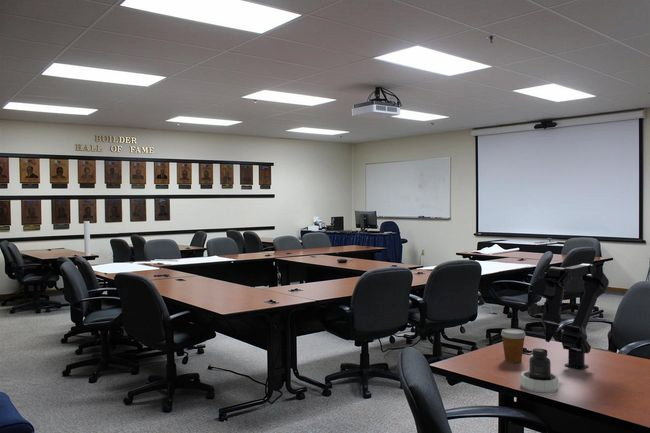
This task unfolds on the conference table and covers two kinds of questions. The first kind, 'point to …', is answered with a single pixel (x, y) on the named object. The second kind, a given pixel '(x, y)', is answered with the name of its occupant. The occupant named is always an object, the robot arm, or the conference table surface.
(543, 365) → the supplement bottle
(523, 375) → the ring stand
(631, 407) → the conference table surface
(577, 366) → the robot arm
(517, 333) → the disposable coffee cup
